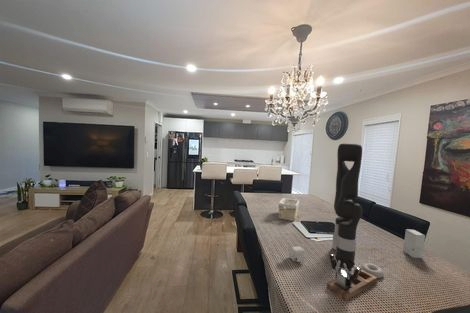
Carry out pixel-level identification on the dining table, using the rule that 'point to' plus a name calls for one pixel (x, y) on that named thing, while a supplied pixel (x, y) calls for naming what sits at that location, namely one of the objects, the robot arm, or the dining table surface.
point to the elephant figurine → (297, 253)
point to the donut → (372, 269)
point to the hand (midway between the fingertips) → (343, 282)
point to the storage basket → (288, 209)
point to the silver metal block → (342, 280)
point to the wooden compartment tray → (353, 285)
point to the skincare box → (414, 243)
